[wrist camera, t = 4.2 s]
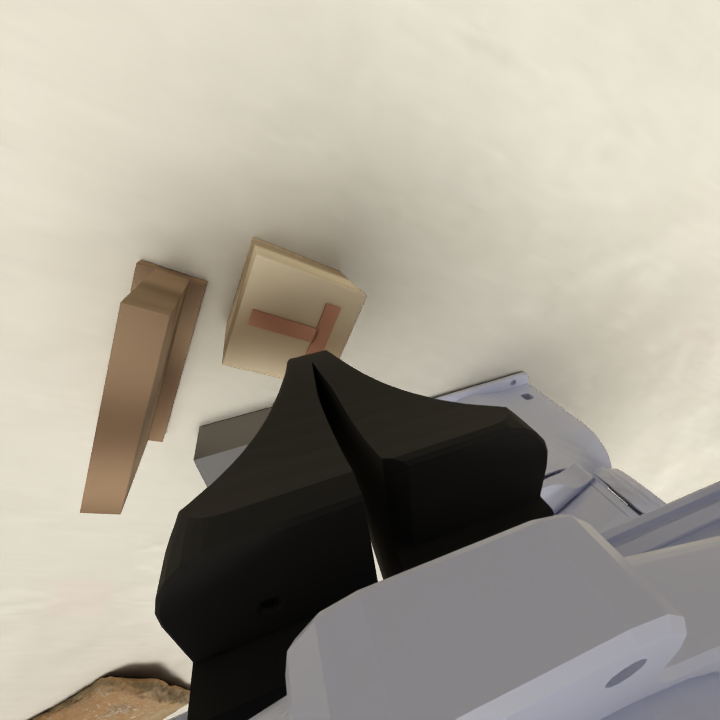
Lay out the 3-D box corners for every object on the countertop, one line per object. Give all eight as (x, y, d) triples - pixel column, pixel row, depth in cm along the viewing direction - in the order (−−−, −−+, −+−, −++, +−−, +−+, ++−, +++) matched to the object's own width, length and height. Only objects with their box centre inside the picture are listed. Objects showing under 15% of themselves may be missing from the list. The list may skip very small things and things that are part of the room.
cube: (253, 236, 17) (256, 254, 13) (339, 271, 19) (367, 297, 15) (226, 323, 19) (221, 365, 15) (309, 346, 21) (326, 389, 17)
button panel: (322, 393, 23) (332, 419, 20) (354, 541, 31) (364, 573, 29) (199, 426, 21) (193, 460, 19) (268, 573, 30) (270, 610, 27)
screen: (140, 259, 16) (94, 295, 11) (206, 281, 17) (192, 321, 12) (106, 425, 19) (58, 511, 14) (165, 433, 21) (139, 515, 16)
